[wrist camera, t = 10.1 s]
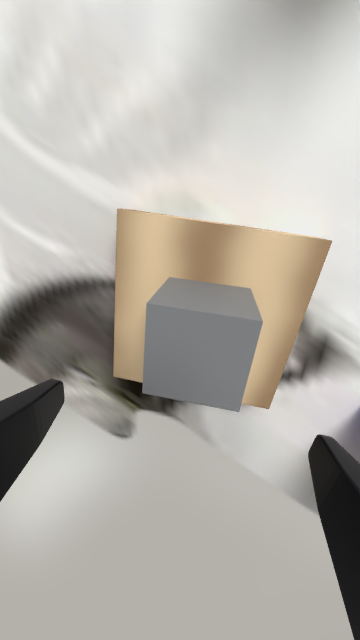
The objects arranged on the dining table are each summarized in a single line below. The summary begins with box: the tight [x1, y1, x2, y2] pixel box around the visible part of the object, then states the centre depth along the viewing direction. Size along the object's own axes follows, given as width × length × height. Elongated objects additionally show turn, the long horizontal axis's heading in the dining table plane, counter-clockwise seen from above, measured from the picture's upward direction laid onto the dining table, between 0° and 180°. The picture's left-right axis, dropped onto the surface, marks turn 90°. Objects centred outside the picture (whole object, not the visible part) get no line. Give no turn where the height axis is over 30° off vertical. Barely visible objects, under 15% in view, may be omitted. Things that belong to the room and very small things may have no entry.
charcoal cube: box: [142, 277, 263, 412], centre depth 14 cm, size 5×5×5 cm
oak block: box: [113, 209, 332, 409], centre depth 17 cm, size 12×12×3 cm
